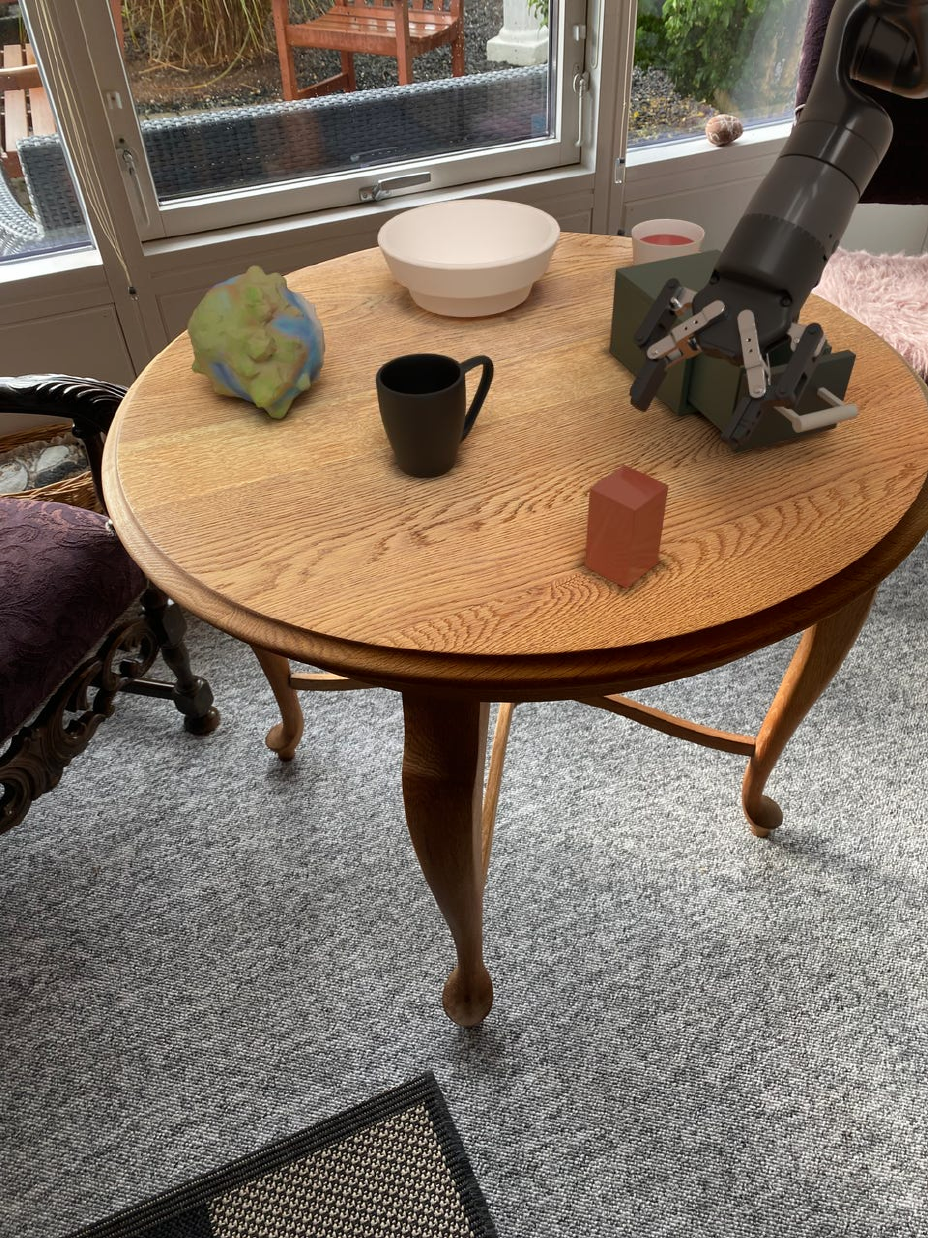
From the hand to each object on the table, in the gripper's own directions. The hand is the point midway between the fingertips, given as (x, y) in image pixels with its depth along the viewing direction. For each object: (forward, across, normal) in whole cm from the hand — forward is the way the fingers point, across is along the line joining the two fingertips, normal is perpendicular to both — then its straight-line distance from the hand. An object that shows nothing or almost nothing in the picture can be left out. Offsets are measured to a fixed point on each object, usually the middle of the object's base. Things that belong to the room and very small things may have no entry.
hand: (680, 426), depth 71 cm
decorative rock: (+15, -46, 0) cm, 48 cm away
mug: (+11, -23, +4) cm, 26 cm away
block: (+12, 0, +3) cm, 12 cm away
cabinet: (-11, -15, +26) cm, 31 cm away
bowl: (-9, -47, +24) cm, 54 cm away
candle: (-23, -31, +38) cm, 54 cm away
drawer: (-8, -3, +21) cm, 23 cm away
